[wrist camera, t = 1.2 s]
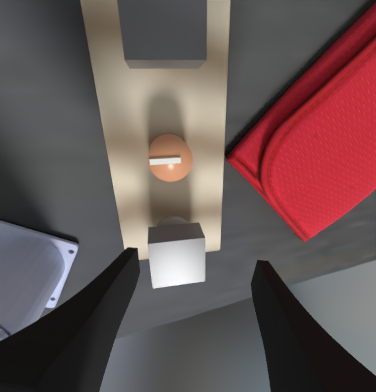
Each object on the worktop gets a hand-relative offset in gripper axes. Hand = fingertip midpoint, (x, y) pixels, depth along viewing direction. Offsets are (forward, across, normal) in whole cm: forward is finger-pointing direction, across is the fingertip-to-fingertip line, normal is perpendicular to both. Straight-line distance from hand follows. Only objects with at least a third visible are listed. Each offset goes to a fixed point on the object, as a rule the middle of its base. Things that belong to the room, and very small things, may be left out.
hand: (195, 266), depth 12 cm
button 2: (+6, +3, -13) cm, 15 cm away
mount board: (+10, +4, -4) cm, 11 cm away
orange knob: (+8, +3, -4) cm, 10 cm away
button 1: (+5, +2, +3) cm, 6 cm away
